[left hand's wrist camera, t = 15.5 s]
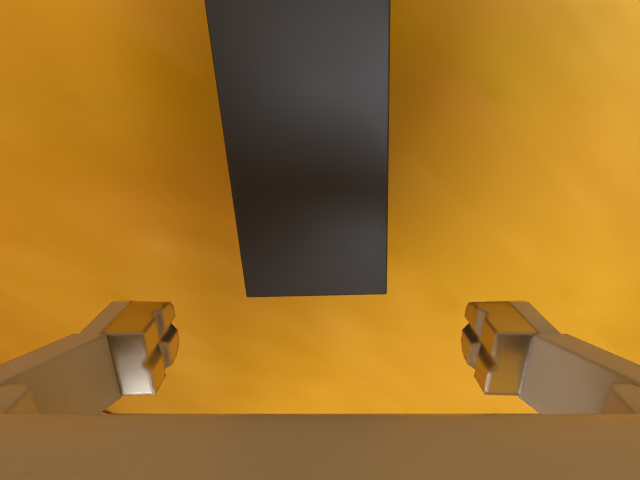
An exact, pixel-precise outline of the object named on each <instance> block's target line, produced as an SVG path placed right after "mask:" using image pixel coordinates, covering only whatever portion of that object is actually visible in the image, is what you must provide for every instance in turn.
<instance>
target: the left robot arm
mask: <svg viewBox="0 0 640 480" xmlns="http://www.w3.org/2000/svg"><path fill="white" fill-rule="evenodd" d="M174 317H175V312H174V307H173V305H172V304H171V302H154V301H115V302H111V303H110V304H109V305H108V306H107V307H106V308H105V309H104V310H103V311H102V312H101V313H100V314H99V315H98V316H97V317H96V318H95V319H94V320H93V321H92V322H91V323H90V324H89V325H88V326H87V327H86V328H85V329H84V330H83V331H82V332H81V333H80V334H72V335H70V336H67V337H65V338H63V339H60V340H58V341H55V342H53V343H51V344H48V345H46V346H44V347H41V348H39V349H37V350H34V351H32V352H30V353H27V354H25V355H23V356H20V357H18V358H16V359H13V360H11V361H9V362H6V363H4V364H2V365H0V480H640V365H638V364H636V363H633V362H631V361H629V360H626V359H624V358H622V357H619V356H617V355H615V354H612V353H610V352H608V351H605V350H603V349H601V348H598V347H596V346H594V345H591V344H589V343H587V342H584V341H582V340H580V339H577V338H575V337H573V336H570V335H568V334H561V333H559V332H558V331H557V330H556V329H555V328H554V327H553V326H552V325H551V324H550V323H549V322H548V321H547V320H546V319H545V318H544V317H543V316H542V315H541V314H540V313H539V312H538V311H537V310H536V309H535V308H534V307H533V306H532V305H531V304H530V303H529V302H526V301H497V302H469V303H468V305H467V307H466V311H465V317H466V319H467V320H468V322H469V324H468V325H467V326H466V327H465V328H464V329H463V330H462V337H461V345H462V352H463V355H464V358H465V360H466V362H467V364H468V365H470V366H471V367H473V368H474V369H475V374H474V376H475V378H476V380H477V382H478V384H479V385H480V387H481V389H482V391H483V392H484V394H485V395H519V398H521V399H522V400H523V401H524V402H526V403H527V404H528V405H530V406H531V407H532V408H534V409H535V410H536V411H537V412H539V413H540V414H108V413H104V412H103V411H104V410H105V409H107V408H108V407H109V406H110V405H112V404H113V403H114V402H116V401H117V400H118V399H120V398H121V395H155V394H156V392H157V391H158V389H159V387H160V385H161V384H162V382H163V380H164V378H165V376H166V374H165V369H166V368H167V367H169V366H170V365H172V364H173V362H174V360H175V358H176V355H177V351H178V347H179V336H178V330H177V329H176V328H175V327H174V326H173V325H172V324H171V322H172V320H173V319H174Z"/></svg>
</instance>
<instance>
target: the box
mask: <svg viewBox="0 0 640 480" xmlns="http://www.w3.org/2000/svg"><path fill="white" fill-rule="evenodd" d="M205 7H206V14H207V21H208V28H209V35H210V43H211V50H212V57H213V64H214V71H215V78H216V85H217V92H218V99H219V106H220V113H221V120H222V127H223V134H224V141H225V148H226V155H227V162H228V169H229V176H230V183H231V190H232V197H233V204H234V211H235V218H236V225H237V232H238V239H239V246H240V253H241V260H242V267H243V274H244V281H245V289H246V296H247V297H279V296H323V295H367V294H386V293H387V229H388V150H389V72H390V0H205Z"/></svg>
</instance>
